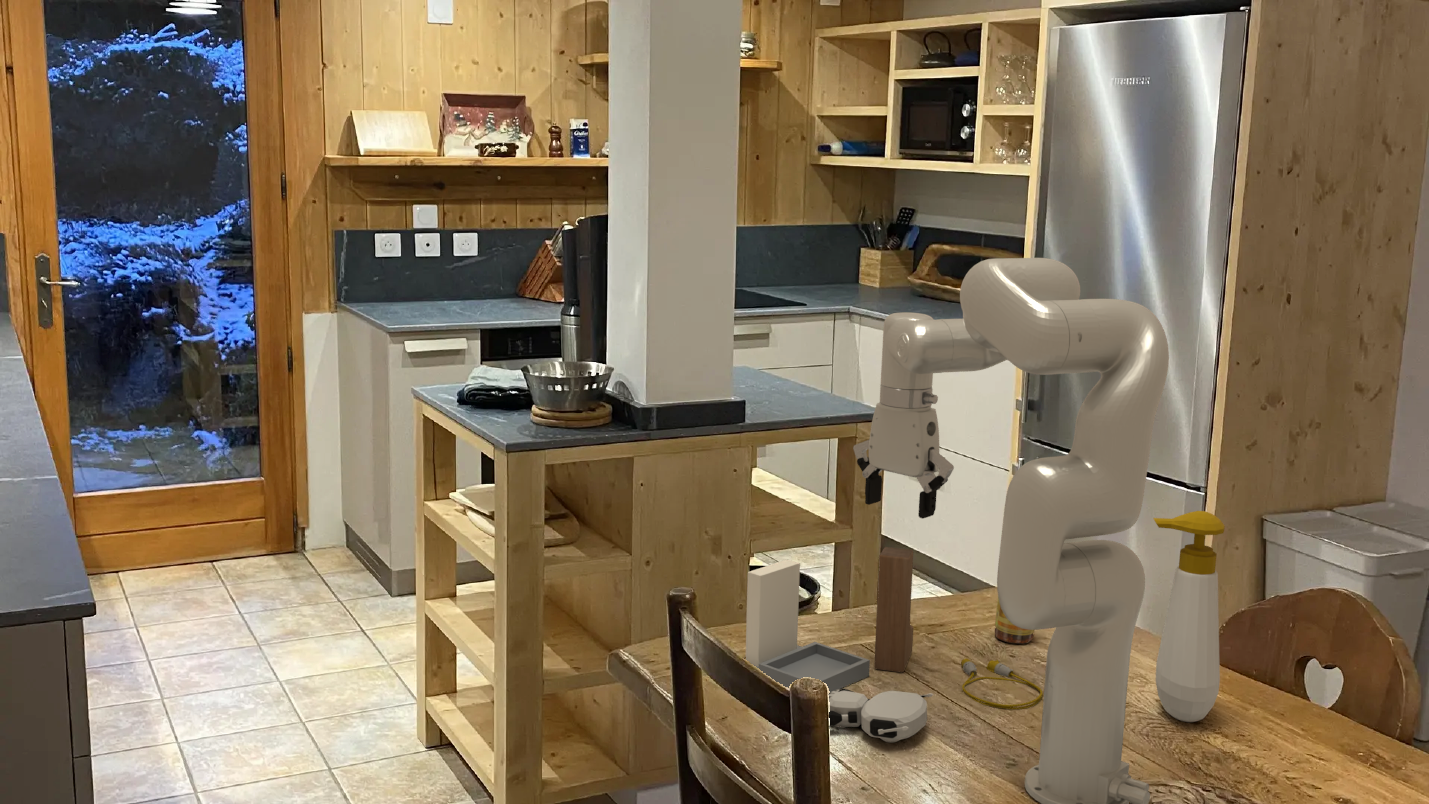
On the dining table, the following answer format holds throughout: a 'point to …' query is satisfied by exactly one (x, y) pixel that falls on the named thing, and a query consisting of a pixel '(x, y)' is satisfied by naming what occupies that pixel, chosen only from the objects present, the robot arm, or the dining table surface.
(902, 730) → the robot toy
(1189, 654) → the soap bottle
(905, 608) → the wooden block
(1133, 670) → the dining table surface
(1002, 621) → the sauce bottle
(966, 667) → the extension cord
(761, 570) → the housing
